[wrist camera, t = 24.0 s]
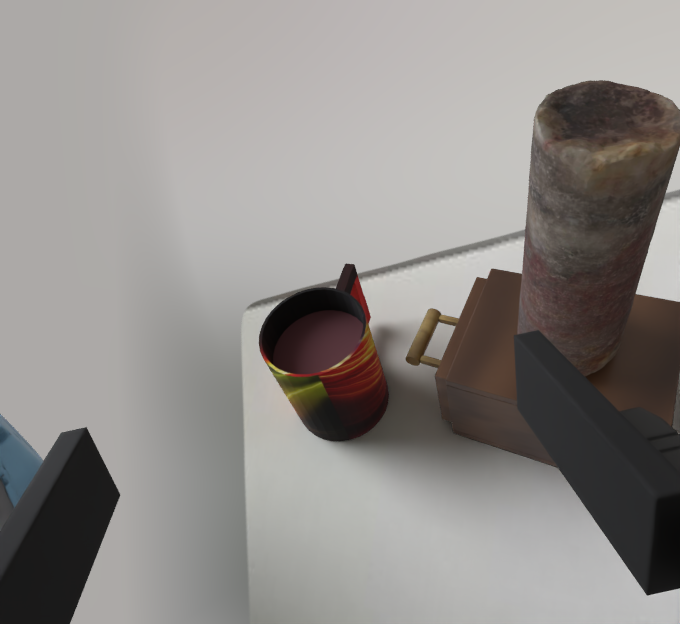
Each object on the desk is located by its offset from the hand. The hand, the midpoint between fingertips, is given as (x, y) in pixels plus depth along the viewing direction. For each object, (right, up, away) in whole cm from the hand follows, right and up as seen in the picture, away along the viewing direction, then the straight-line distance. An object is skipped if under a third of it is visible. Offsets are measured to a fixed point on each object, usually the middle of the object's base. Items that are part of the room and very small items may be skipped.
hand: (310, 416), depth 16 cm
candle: (+19, +1, +25) cm, 32 cm away
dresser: (+21, -5, +32) cm, 39 cm away
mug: (+1, -4, +39) cm, 40 cm away
